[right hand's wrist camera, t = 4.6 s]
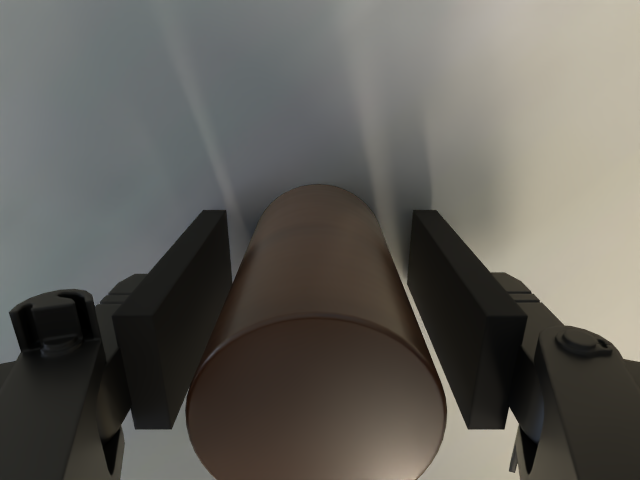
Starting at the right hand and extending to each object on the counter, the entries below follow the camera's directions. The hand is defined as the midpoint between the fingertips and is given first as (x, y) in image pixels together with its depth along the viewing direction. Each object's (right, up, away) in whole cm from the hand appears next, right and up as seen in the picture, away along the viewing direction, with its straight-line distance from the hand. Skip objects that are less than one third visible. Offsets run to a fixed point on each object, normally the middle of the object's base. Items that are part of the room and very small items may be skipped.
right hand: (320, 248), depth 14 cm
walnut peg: (0, 0, 0) cm, 0 cm away
